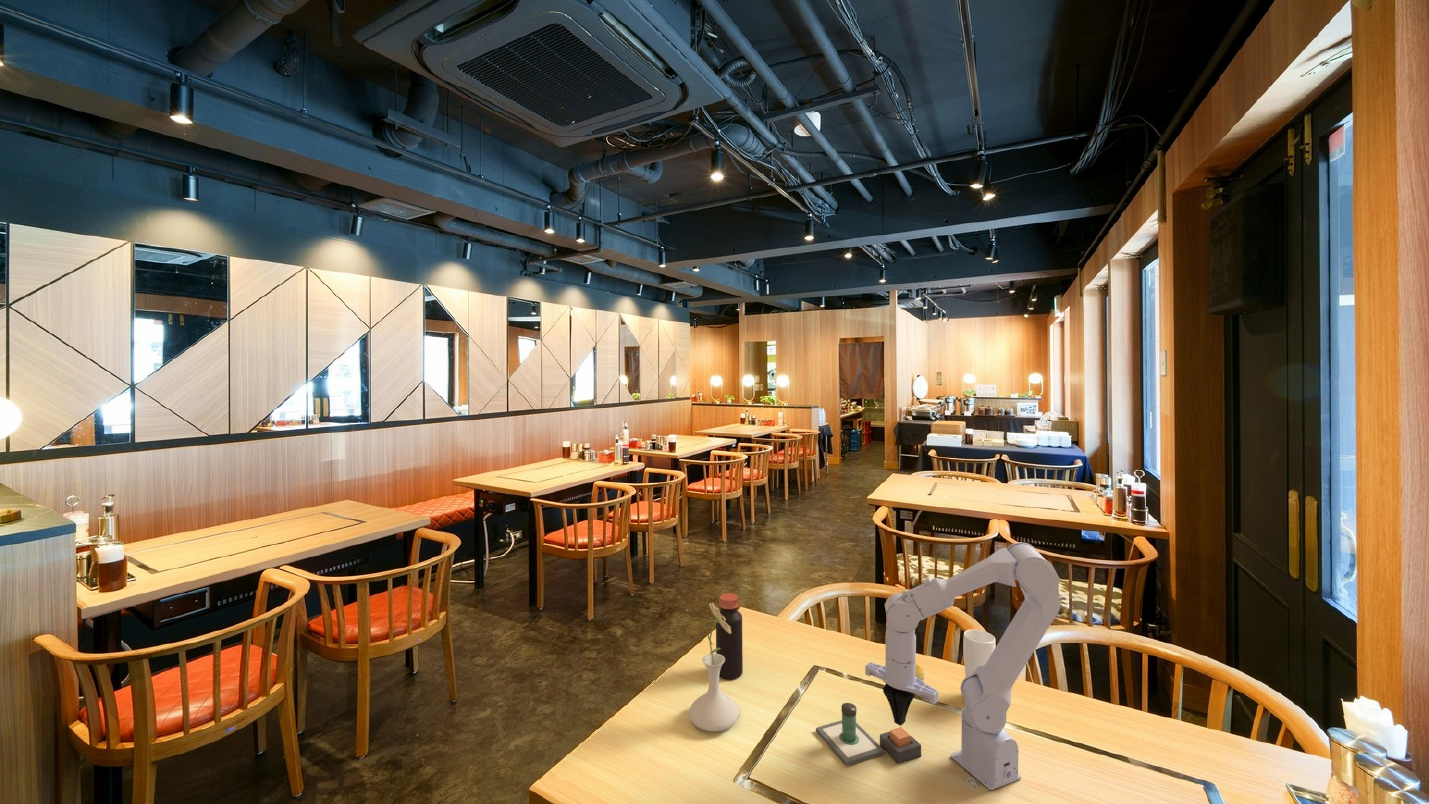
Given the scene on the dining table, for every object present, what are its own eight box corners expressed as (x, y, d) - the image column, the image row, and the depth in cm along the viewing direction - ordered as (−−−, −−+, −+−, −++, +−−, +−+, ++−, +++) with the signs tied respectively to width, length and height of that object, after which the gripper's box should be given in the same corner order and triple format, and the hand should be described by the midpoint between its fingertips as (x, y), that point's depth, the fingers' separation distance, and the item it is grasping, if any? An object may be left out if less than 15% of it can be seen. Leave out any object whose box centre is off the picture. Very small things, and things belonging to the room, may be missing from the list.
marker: (859, 740, 108) (859, 709, 107) (847, 744, 107) (847, 713, 106) (850, 731, 110) (850, 701, 110) (838, 735, 109) (838, 704, 109)
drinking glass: (987, 690, 126) (988, 629, 125) (1000, 708, 119) (1001, 643, 118) (958, 689, 126) (958, 628, 126) (969, 706, 120) (969, 642, 119)
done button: (910, 744, 105) (910, 735, 105) (899, 748, 104) (899, 739, 104) (900, 735, 107) (900, 727, 107) (889, 739, 106) (889, 730, 106)
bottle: (712, 678, 132) (712, 600, 131) (720, 664, 139) (719, 590, 138) (739, 682, 130) (738, 603, 129) (745, 668, 137) (744, 593, 136)
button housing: (921, 756, 104) (921, 745, 104) (898, 764, 102) (898, 752, 102) (901, 738, 109) (901, 727, 109) (879, 745, 107) (879, 734, 107)
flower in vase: (741, 737, 110) (740, 621, 109) (687, 738, 110) (685, 622, 109) (738, 699, 123) (737, 595, 122) (690, 700, 123) (688, 596, 122)
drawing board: (884, 754, 105) (884, 749, 105) (846, 766, 102) (846, 762, 102) (851, 721, 115) (851, 716, 115) (815, 731, 112) (815, 727, 112)
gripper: (945, 662, 103) (944, 729, 103) (877, 636, 113) (876, 697, 113) (929, 676, 98) (929, 747, 98) (860, 648, 108) (859, 712, 109)
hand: (899, 722), depth 106 cm, fingers closed
